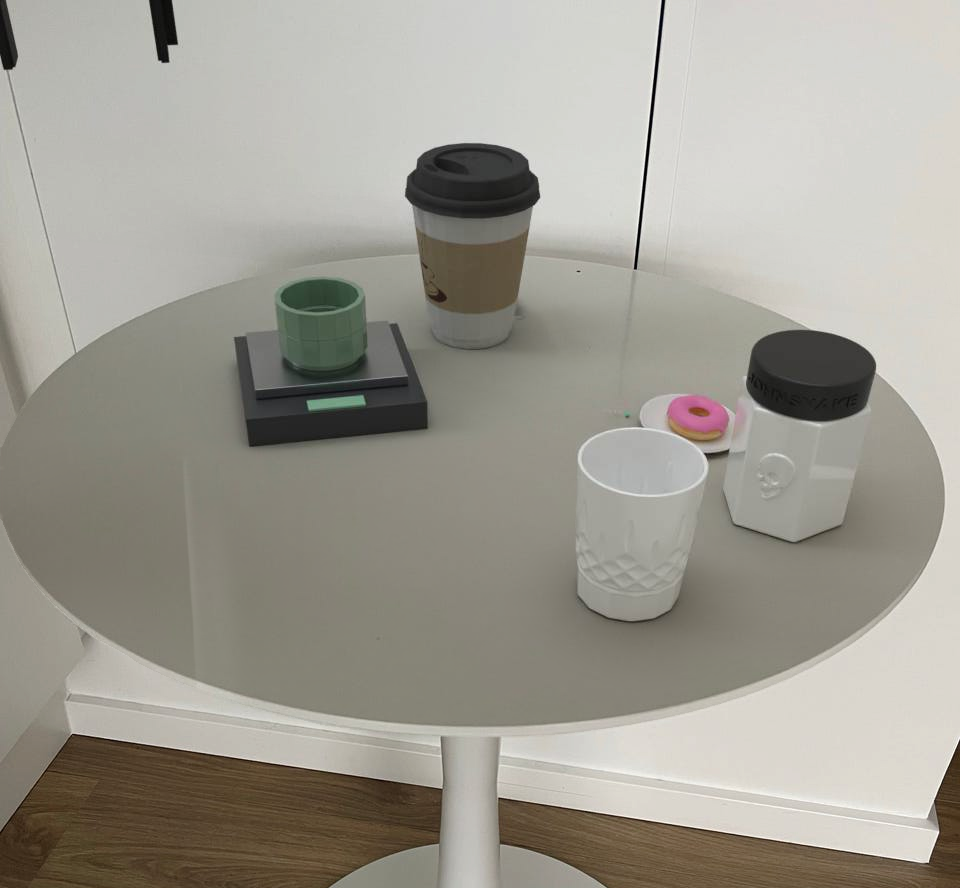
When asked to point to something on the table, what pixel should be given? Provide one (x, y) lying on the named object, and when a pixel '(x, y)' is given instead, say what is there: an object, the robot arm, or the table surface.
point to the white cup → (636, 519)
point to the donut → (690, 420)
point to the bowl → (321, 323)
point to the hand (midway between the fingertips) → (88, 60)
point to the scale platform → (286, 379)
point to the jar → (798, 433)
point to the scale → (331, 407)
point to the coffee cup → (472, 238)
